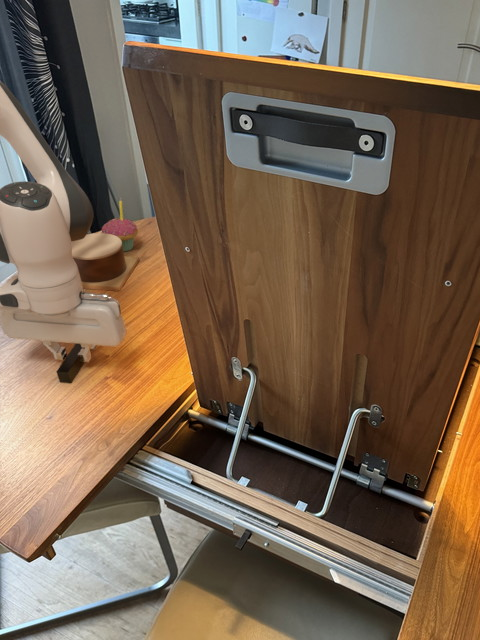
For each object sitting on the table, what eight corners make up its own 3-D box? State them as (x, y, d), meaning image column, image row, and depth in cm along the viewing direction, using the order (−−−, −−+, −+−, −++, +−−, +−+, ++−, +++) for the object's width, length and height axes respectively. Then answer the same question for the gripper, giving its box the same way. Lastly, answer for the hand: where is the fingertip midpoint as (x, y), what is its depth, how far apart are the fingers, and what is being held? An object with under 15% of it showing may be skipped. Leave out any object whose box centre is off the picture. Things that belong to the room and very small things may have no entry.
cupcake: (122, 237, 132) (114, 190, 124) (148, 245, 129) (140, 198, 121) (97, 250, 126) (87, 202, 119) (123, 259, 123) (114, 210, 115)
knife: (72, 383, 88) (69, 372, 87) (58, 382, 88) (54, 371, 87) (112, 320, 103) (110, 310, 102) (99, 319, 103) (97, 309, 102)
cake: (57, 286, 113) (48, 257, 108) (82, 257, 123) (75, 229, 119) (119, 291, 112) (113, 261, 107) (139, 261, 123) (134, 233, 118)
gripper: (124, 285, 84) (137, 352, 93) (2, 276, 85) (26, 343, 94) (110, 305, 79) (125, 375, 88) (-18, 296, 80) (9, 365, 89)
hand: (73, 358), depth 91 cm, fingers open, 3 cm apart
